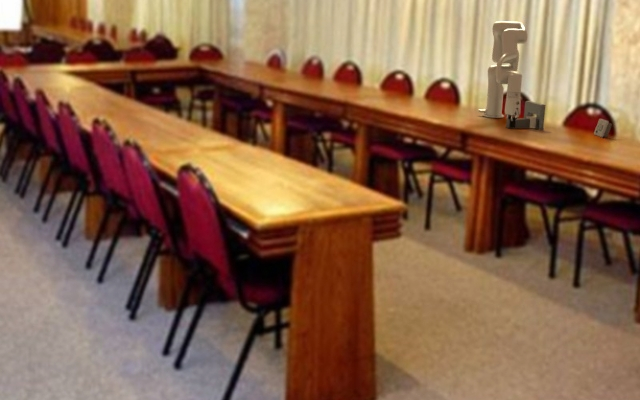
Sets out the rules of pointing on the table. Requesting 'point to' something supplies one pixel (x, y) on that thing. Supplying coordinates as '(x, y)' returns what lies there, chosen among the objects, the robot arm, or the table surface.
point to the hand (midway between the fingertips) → (510, 126)
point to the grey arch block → (535, 112)
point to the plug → (523, 122)
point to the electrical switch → (602, 128)
